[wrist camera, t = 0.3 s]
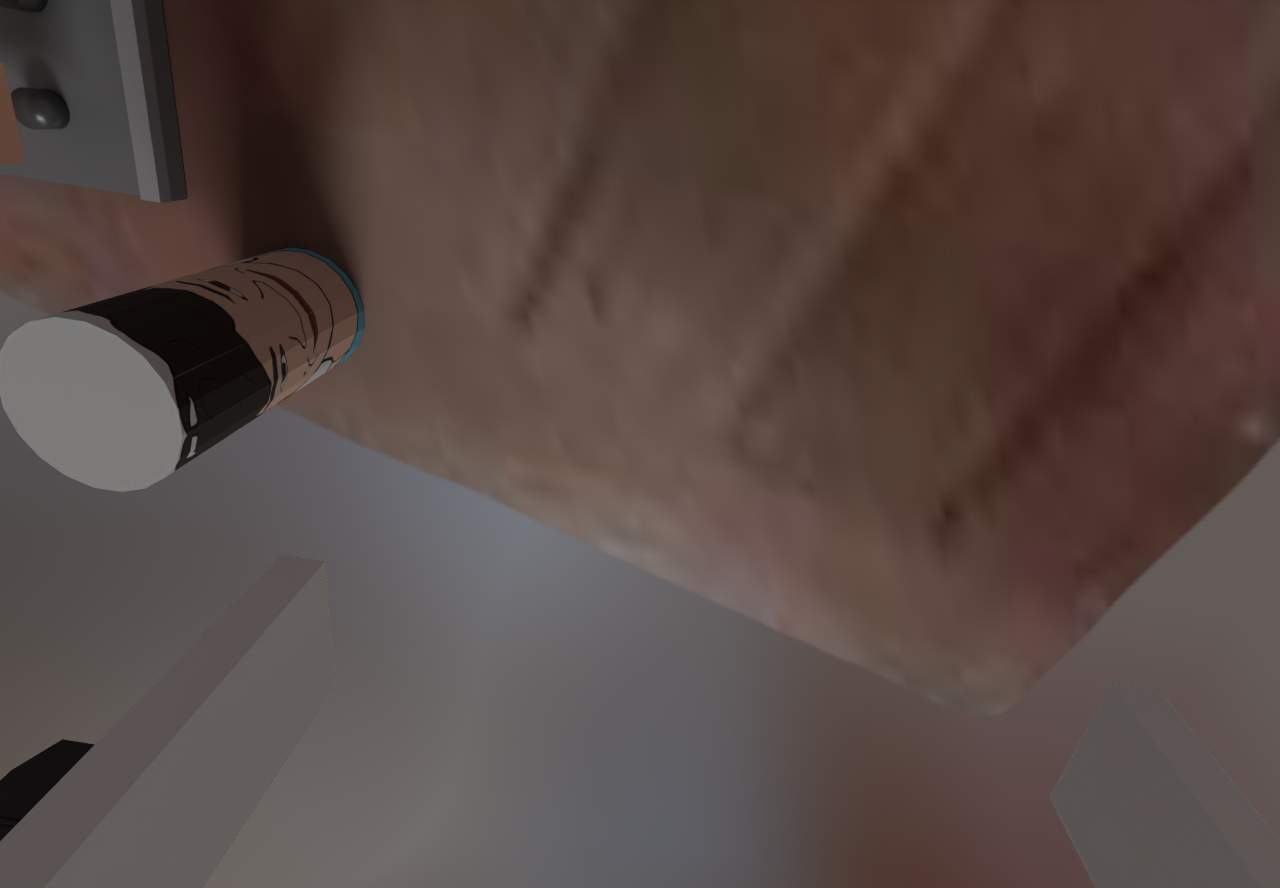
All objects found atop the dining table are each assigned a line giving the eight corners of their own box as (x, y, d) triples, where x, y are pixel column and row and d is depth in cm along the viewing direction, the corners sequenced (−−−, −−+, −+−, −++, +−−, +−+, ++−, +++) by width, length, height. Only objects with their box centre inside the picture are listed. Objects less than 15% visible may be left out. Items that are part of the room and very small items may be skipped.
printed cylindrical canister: (374, 368, 40) (204, 493, 26) (262, 367, 40) (38, 490, 27) (351, 246, 37) (148, 316, 23) (231, 247, 38) (-36, 317, 24)
